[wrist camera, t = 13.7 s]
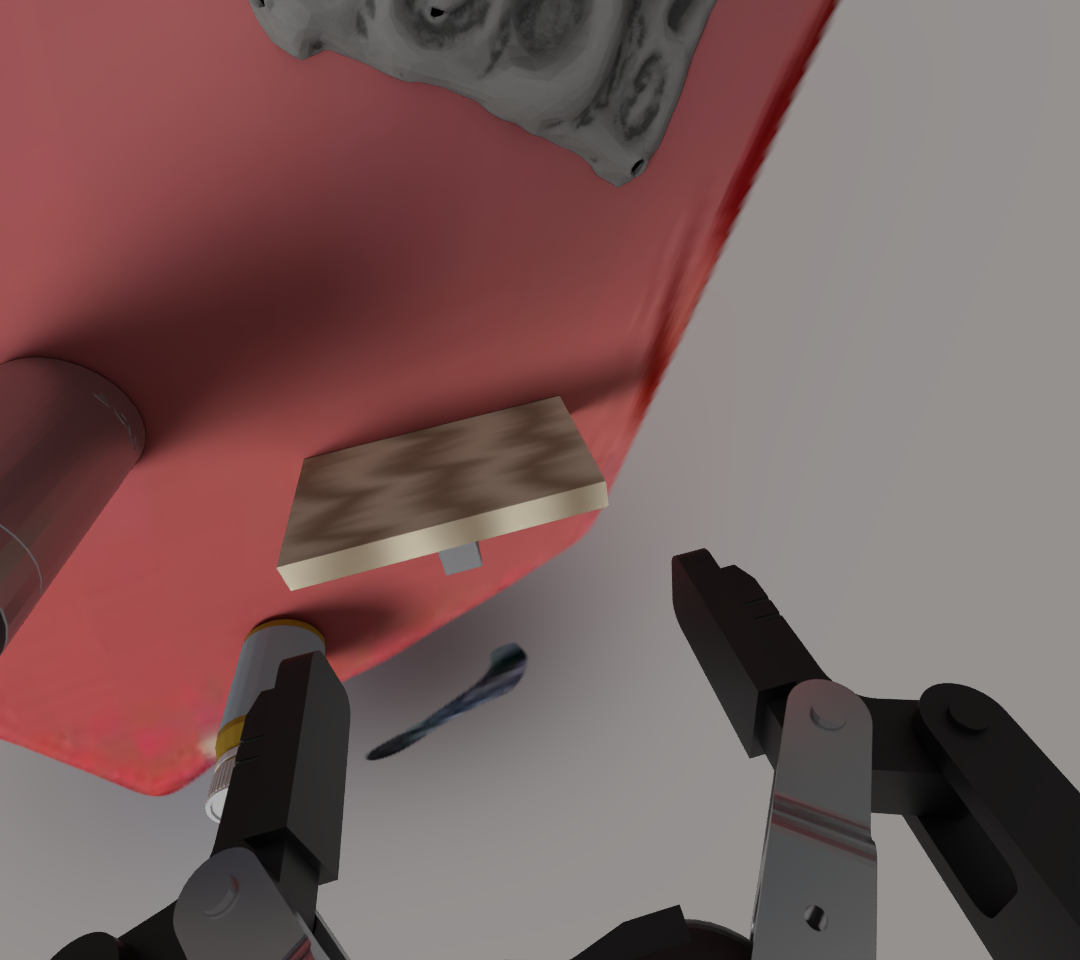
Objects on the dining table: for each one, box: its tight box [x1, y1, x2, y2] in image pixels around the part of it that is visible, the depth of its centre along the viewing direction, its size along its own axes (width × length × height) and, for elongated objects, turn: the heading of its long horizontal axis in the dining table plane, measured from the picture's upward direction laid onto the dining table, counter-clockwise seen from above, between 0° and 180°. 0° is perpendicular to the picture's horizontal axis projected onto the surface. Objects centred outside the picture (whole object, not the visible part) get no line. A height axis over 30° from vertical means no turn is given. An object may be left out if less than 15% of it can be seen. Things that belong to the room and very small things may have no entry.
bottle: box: [206, 619, 326, 824], centre depth 46 cm, size 7×7×15 cm
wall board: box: [277, 396, 609, 591], centre depth 41 cm, size 20×9×12 cm, turn 100°
